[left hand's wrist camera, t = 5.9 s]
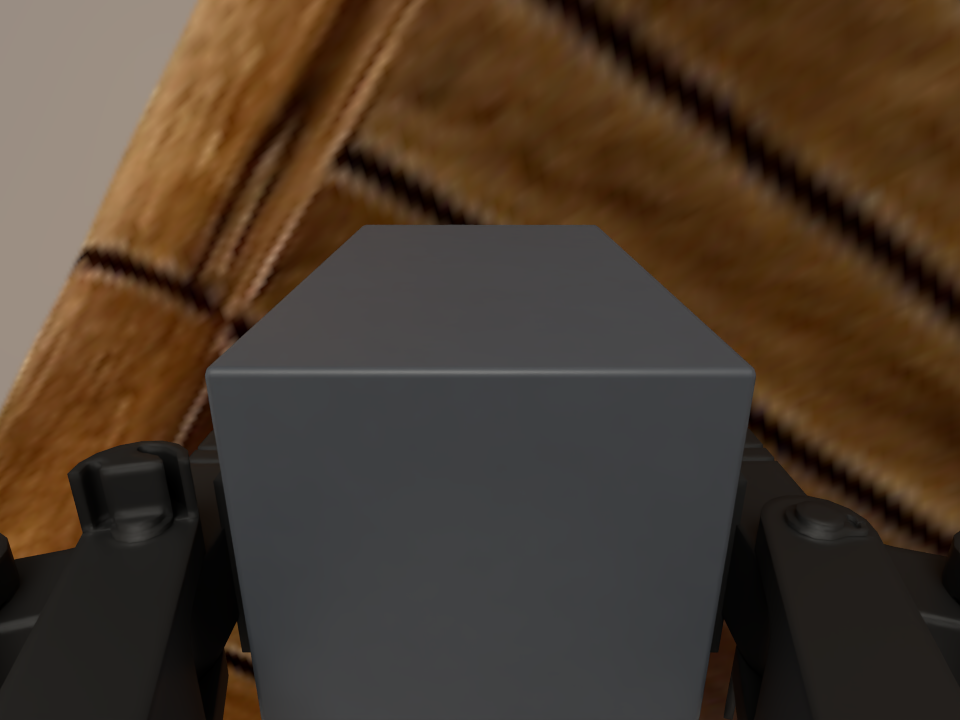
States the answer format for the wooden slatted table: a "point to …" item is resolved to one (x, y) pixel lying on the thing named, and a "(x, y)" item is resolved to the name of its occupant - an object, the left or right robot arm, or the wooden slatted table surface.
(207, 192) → the wooden slatted table surface
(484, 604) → the bar
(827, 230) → the wooden slatted table surface
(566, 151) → the wooden slatted table surface
